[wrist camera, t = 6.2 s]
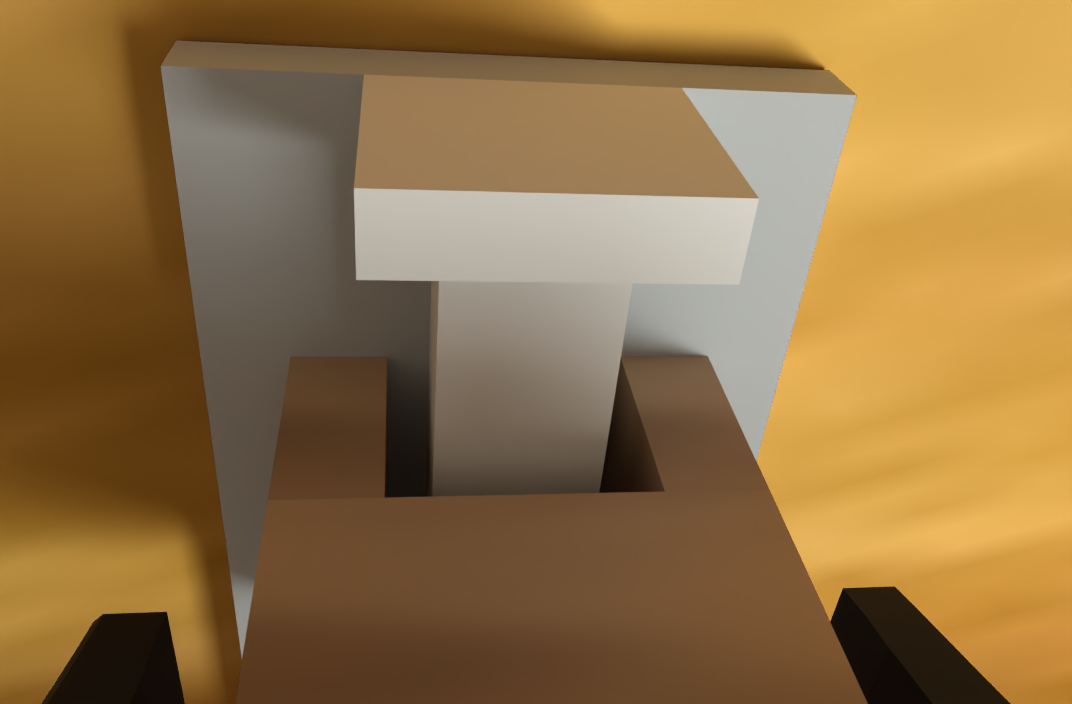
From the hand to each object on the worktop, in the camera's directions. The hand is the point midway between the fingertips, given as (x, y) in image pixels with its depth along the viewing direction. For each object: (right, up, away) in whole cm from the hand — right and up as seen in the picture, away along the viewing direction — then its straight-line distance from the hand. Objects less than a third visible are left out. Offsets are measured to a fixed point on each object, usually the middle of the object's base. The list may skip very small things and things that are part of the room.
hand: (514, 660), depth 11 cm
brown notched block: (0, +2, +2) cm, 3 cm away
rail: (-1, 0, +4) cm, 4 cm away
